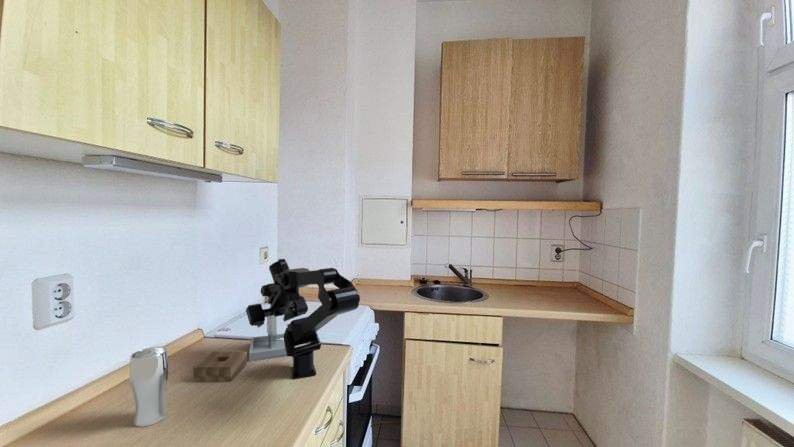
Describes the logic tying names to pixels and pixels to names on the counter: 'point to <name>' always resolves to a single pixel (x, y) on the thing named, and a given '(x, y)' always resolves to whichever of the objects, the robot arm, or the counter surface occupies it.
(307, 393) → the counter surface
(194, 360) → the counter surface
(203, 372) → the socket
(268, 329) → the grey rectangular block
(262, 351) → the tray
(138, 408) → the beer glass
